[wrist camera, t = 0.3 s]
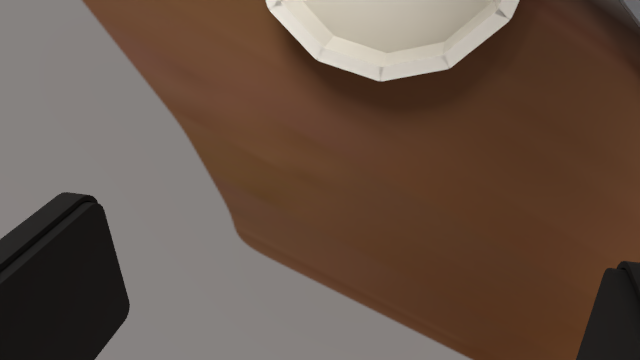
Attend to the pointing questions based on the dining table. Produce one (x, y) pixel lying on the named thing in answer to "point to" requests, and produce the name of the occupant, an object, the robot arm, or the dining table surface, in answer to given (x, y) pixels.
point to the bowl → (392, 32)
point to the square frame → (632, 9)
